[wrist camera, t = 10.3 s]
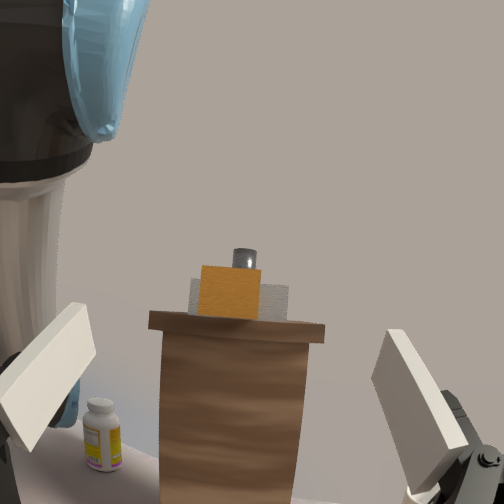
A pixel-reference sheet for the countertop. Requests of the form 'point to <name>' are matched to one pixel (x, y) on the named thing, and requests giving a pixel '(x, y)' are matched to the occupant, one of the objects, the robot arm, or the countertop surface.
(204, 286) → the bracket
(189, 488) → the post
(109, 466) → the supplement bottle
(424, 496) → the mug
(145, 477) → the countertop surface
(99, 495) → the countertop surface
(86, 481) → the countertop surface
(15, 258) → the robot arm
